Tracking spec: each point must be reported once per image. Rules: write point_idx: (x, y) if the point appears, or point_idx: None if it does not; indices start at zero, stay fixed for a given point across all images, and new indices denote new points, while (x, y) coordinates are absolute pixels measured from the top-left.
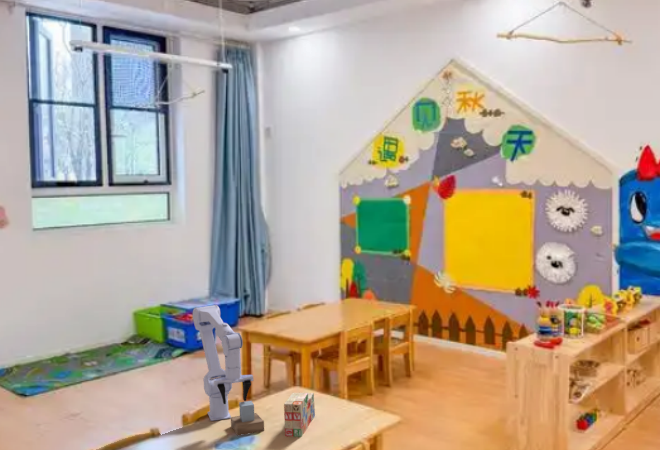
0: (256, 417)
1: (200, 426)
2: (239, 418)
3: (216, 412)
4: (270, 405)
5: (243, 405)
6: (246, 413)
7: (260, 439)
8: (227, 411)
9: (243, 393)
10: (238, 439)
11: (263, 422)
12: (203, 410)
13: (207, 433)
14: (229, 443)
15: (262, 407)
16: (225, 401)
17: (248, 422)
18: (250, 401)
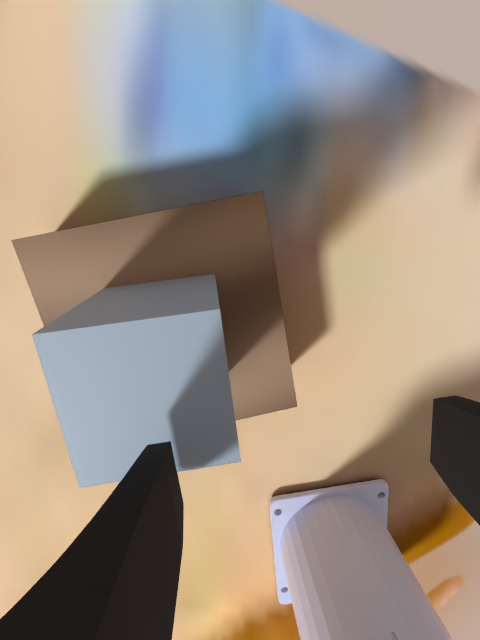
0: None
1: None
2: (232, 365)
3: (369, 528)
4: None
5: (191, 338)
6: (166, 294)
7: (77, 47)
8: (293, 545)
9: (170, 595)
10: (253, 114)
11: (21, 239)
12: None
13: (435, 300)
14: (327, 50)
15: None
16: (468, 409)
17: (160, 253)
18: (90, 467)
